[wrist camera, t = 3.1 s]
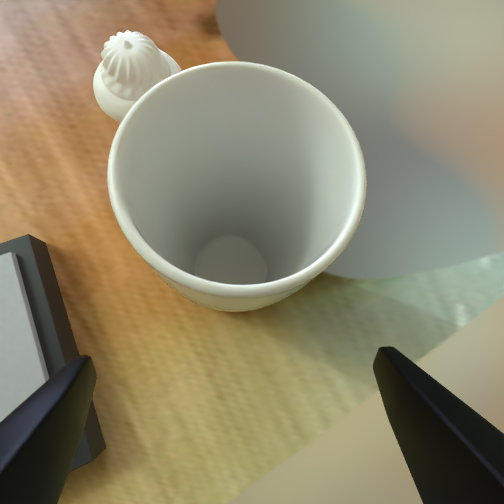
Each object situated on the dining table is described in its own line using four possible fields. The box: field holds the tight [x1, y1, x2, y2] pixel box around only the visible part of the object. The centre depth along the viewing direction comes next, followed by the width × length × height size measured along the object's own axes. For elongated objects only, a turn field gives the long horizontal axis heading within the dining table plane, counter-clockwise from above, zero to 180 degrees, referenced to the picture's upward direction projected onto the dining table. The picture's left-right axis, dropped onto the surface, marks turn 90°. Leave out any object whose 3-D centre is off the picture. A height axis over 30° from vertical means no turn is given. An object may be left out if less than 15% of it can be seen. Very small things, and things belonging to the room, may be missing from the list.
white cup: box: [108, 61, 367, 312], centre depth 15 cm, size 7×7×15 cm
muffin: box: [93, 31, 182, 124], centre depth 21 cm, size 6×6×7 cm
